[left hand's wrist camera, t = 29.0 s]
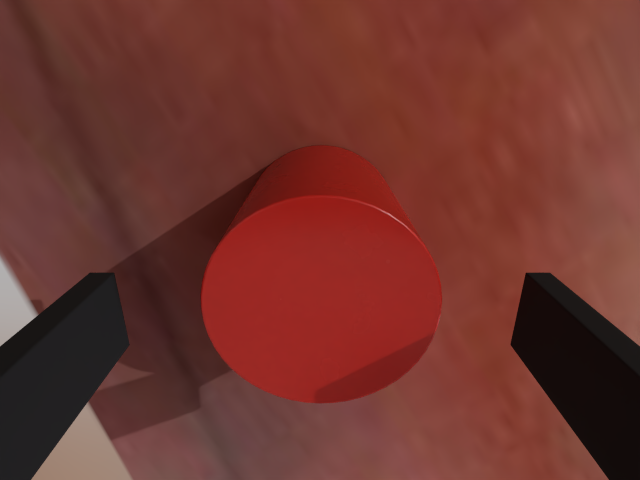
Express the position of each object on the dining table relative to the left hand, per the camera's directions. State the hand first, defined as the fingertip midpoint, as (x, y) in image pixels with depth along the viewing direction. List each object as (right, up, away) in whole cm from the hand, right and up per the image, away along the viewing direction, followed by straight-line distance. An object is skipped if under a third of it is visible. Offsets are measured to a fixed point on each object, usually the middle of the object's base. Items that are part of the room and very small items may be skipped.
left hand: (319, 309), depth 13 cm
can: (0, +3, +7) cm, 8 cm away
